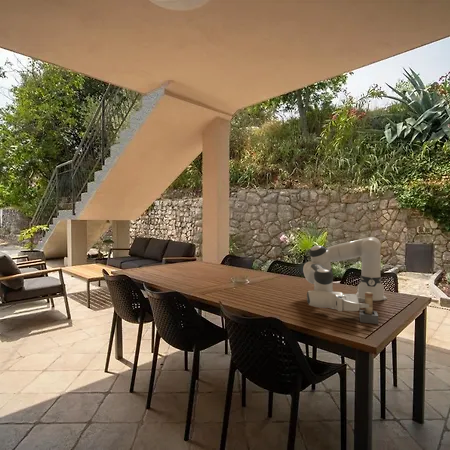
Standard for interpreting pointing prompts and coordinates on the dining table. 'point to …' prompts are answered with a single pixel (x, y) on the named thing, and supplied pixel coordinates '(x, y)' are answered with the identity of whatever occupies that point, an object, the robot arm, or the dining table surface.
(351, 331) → the dining table surface
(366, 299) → the dowel
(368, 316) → the square socket block
